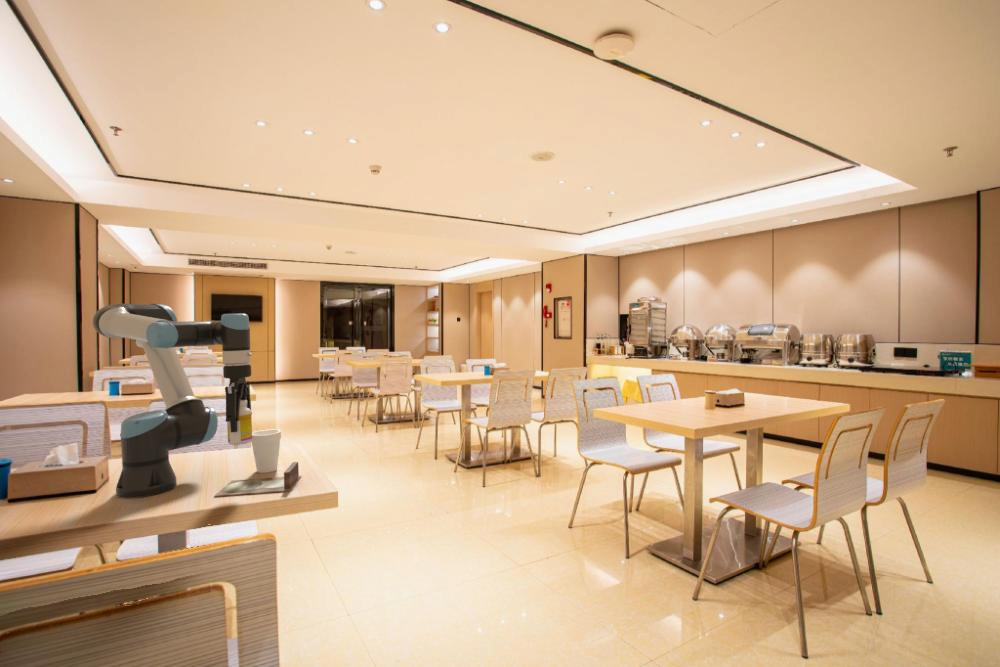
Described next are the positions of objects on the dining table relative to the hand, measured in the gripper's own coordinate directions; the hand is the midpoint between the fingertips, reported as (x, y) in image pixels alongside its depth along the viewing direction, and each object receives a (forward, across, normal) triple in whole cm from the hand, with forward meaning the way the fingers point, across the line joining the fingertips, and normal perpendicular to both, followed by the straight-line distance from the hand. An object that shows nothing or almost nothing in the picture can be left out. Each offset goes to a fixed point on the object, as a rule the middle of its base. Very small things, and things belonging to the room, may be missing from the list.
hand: (240, 439), depth 151 cm
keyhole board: (+15, 0, -5) cm, 16 cm away
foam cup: (+15, +18, -2) cm, 24 cm away
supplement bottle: (+1, 0, 0) cm, 1 cm away
